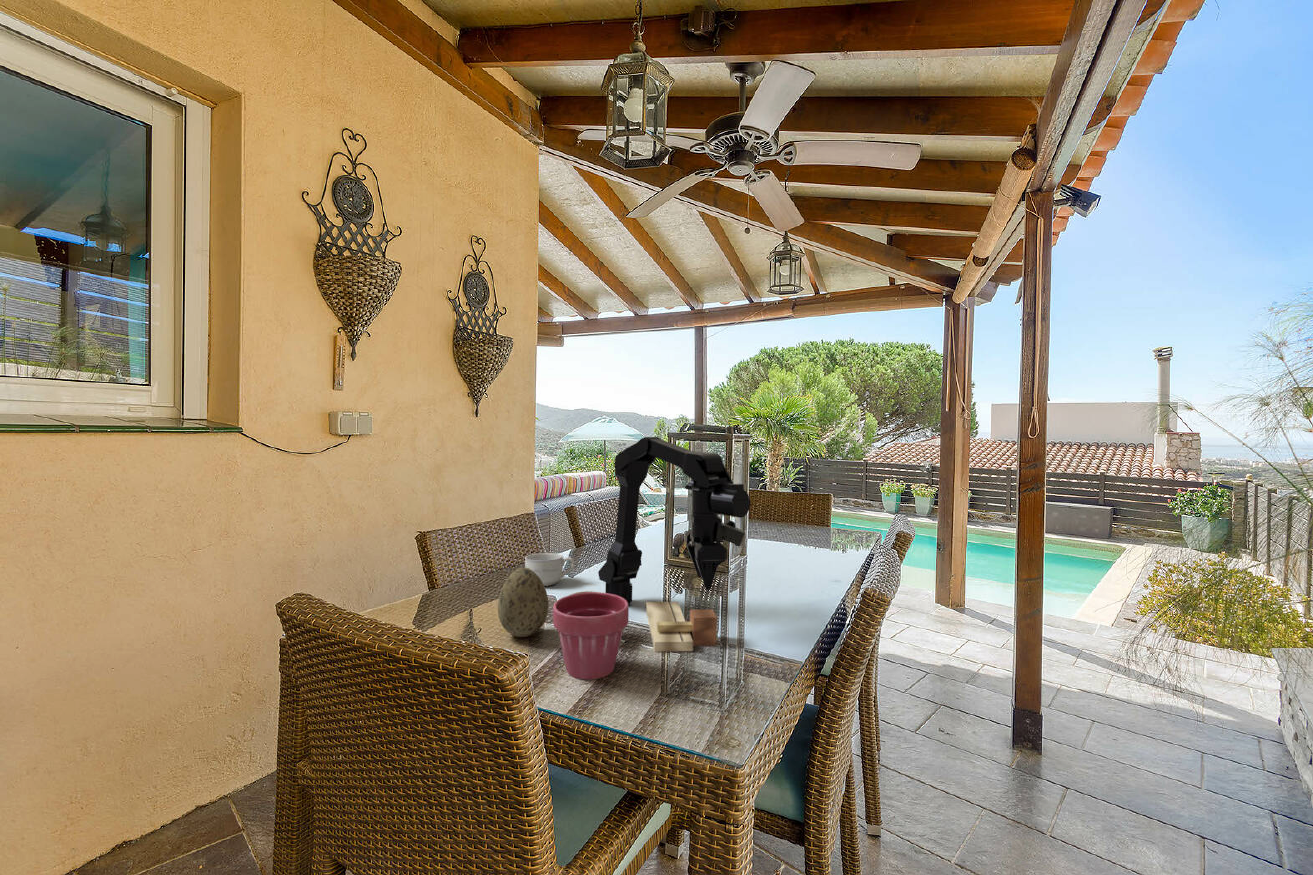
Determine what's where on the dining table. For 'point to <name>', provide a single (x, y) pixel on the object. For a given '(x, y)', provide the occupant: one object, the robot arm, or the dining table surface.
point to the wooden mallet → (695, 627)
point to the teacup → (548, 566)
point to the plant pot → (590, 632)
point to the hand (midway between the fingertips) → (704, 583)
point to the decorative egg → (523, 603)
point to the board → (667, 639)
